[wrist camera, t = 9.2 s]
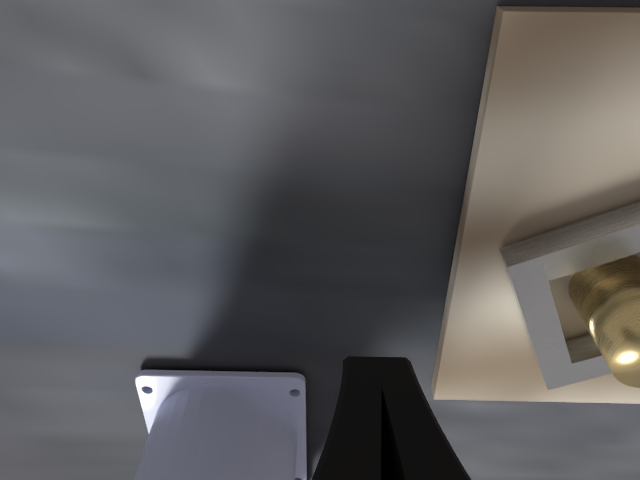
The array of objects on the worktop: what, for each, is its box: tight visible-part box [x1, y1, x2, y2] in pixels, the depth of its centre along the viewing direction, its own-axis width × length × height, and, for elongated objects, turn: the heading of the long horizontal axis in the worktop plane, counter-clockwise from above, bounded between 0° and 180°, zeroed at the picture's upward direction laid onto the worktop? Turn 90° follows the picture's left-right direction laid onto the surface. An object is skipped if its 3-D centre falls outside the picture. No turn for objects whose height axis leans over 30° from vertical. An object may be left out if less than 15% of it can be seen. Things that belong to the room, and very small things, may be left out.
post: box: [568, 255, 640, 388], centre depth 20 cm, size 3×3×4 cm
